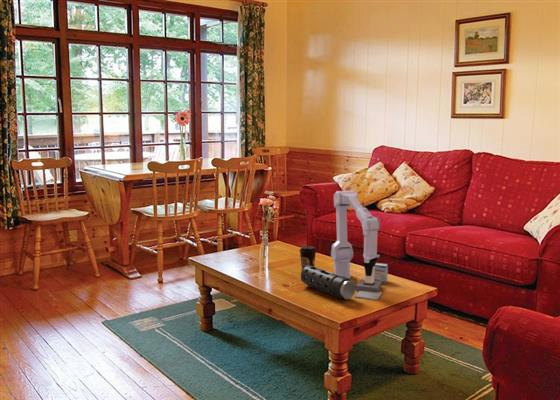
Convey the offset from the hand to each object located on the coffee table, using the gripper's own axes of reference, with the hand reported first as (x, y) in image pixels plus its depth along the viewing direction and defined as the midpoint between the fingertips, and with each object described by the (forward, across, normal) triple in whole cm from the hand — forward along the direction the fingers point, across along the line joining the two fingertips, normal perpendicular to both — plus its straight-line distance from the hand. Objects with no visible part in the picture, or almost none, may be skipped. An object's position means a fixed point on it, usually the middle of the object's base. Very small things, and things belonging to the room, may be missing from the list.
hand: (369, 274), depth 244 cm
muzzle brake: (+10, -5, +18) cm, 21 cm away
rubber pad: (+10, -1, 0) cm, 10 cm away
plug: (+3, 0, 0) cm, 3 cm away
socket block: (+9, +8, +2) cm, 13 cm away
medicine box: (+10, +21, 0) cm, 23 cm away
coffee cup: (+10, +23, +37) cm, 45 cm away
